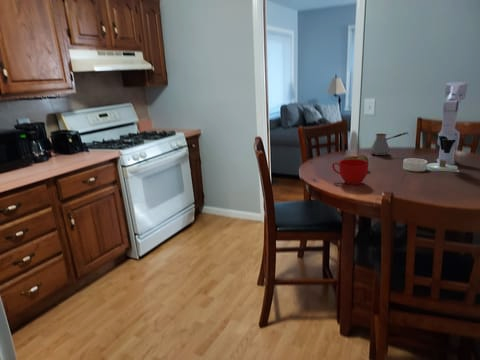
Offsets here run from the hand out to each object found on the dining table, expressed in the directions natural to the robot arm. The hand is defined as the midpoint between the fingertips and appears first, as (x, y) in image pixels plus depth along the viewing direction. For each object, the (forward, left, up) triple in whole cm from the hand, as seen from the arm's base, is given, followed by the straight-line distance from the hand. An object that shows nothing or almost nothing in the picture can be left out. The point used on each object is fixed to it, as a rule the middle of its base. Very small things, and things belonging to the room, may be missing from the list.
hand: (445, 151), depth 174 cm
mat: (-1, 0, -9) cm, 9 cm away
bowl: (+4, -13, -9) cm, 17 cm away
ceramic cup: (+37, -42, -10) cm, 57 cm away
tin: (+15, -42, -10) cm, 46 cm away
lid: (-1, 0, -9) cm, 9 cm away
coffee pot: (-27, -27, -10) cm, 40 cm away
